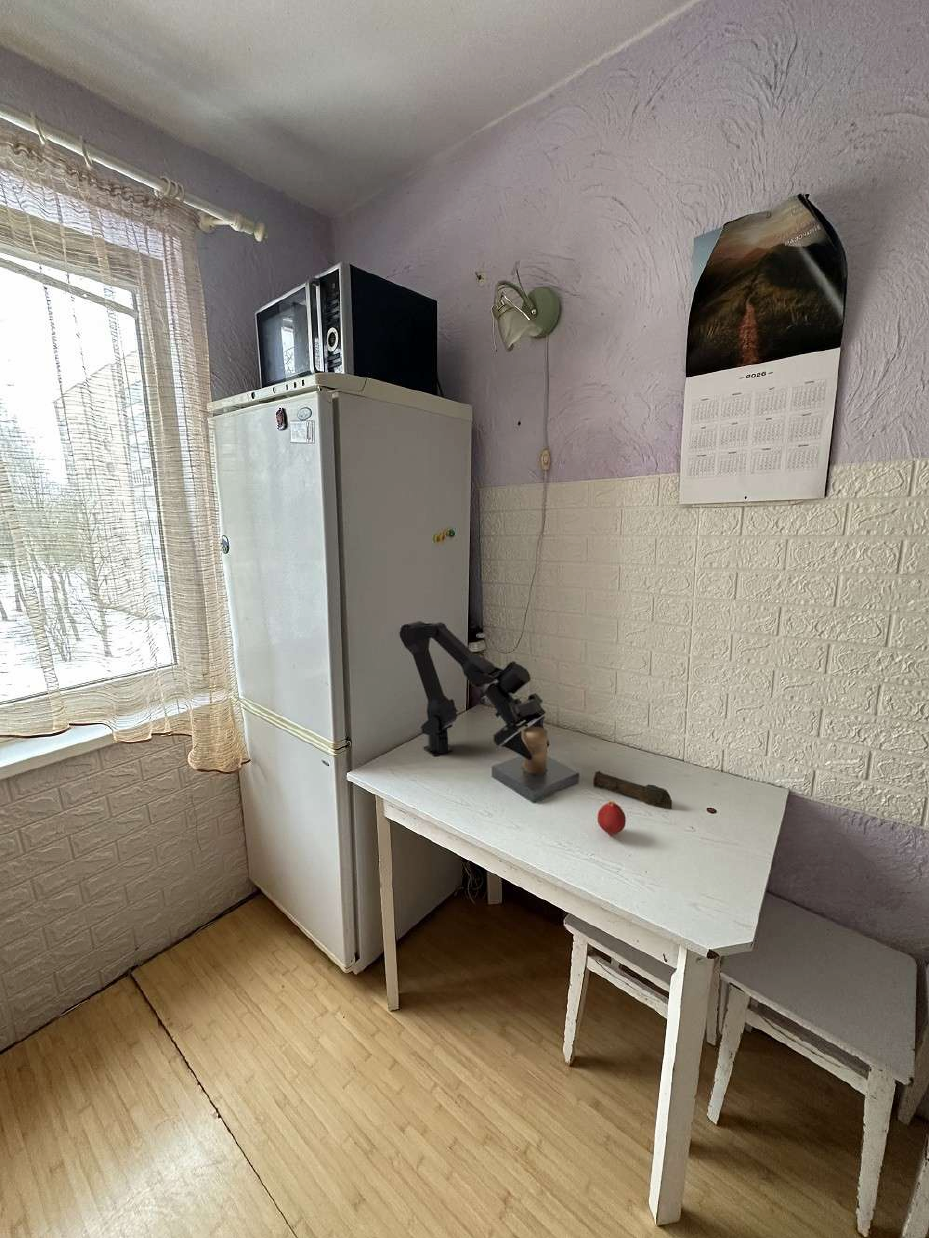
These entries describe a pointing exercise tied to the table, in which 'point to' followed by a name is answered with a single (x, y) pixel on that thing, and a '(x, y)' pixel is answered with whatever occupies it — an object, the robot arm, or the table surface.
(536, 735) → the walnut pin
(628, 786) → the hand tool
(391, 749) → the table surface
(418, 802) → the table surface
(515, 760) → the socket block
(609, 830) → the red pomegranate
